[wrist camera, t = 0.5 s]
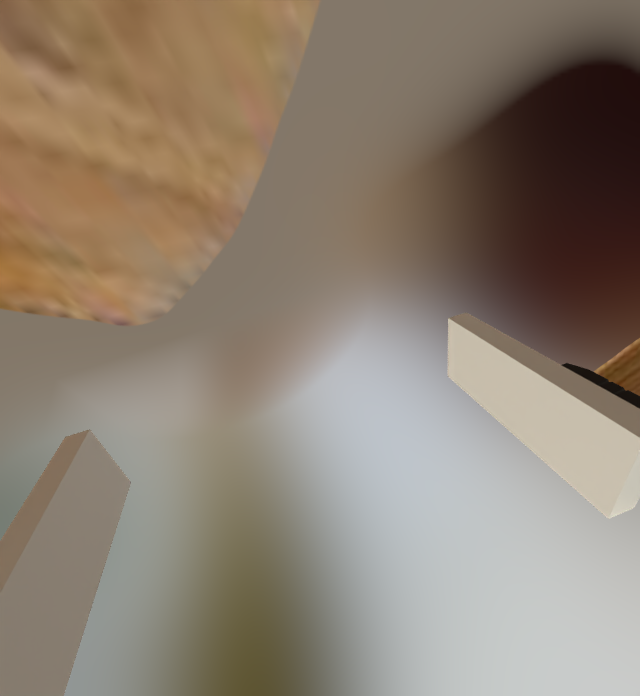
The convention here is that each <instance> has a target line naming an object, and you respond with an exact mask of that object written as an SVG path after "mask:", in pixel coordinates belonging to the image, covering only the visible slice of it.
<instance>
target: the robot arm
mask: <svg viewBox="0 0 640 696" xmlns="http://www.w3.org/2000/svg"><path fill="white" fill-rule="evenodd" d="M448 377H449V378H450V379H452V380H453V381H454V382H455V383H456V384H457V385H458V386H459V387H461V388H462V389H463V390H464V391H465V392H466V393H468V395H470V396H471V397H472V398H473V399H474V400H475V401H476V402H478V403H479V404H480V405H481V406H482V407H483V408H484V409H485V410H486V411H488V412H489V413H490V414H491V415H492V416H493V417H494V418H495V419H497V420H498V421H499V422H500V423H501V424H502V425H503V426H504V427H506V428H507V429H508V430H509V431H510V432H511V433H512V434H514V435H515V436H516V437H517V438H518V439H519V440H520V441H521V442H522V443H524V444H525V445H526V446H527V447H528V448H529V449H530V450H531V451H533V452H534V453H535V454H536V455H537V456H538V457H539V458H540V459H542V460H543V461H544V462H545V463H546V464H547V465H548V466H549V467H551V468H552V469H553V470H554V471H555V472H556V473H557V474H559V475H560V476H561V477H562V478H563V479H564V480H565V481H566V482H567V483H569V484H570V485H571V486H572V487H573V488H574V489H575V490H577V491H578V492H579V493H580V494H581V495H582V496H583V497H584V498H585V499H587V500H588V501H589V502H590V503H591V504H592V505H593V506H594V507H596V508H597V509H598V510H599V511H600V512H601V513H602V514H604V515H605V516H606V517H607V518H608V519H609V518H612V517H614V516H616V515H618V514H621V513H623V512H626V511H628V510H630V509H632V508H634V507H635V505H636V503H637V501H638V499H639V497H640V396H638V395H636V394H634V393H632V392H631V391H629V390H628V391H625V390H624V388H623V387H621V386H619V385H617V384H615V383H613V382H609V381H608V379H606V378H604V377H602V376H600V375H598V374H596V373H594V372H592V371H590V370H588V369H585V368H581V367H578V366H575V365H572V364H568V363H566V364H563V365H559V364H558V363H556V362H554V361H553V360H551V359H549V358H547V357H545V356H543V355H542V354H540V353H538V352H536V351H535V350H533V349H531V348H529V347H527V346H526V345H524V344H522V343H520V342H518V341H517V340H515V339H513V338H511V337H509V336H508V335H506V334H504V333H502V332H500V331H499V330H497V329H495V328H493V327H491V326H490V325H488V324H486V323H484V322H482V321H481V320H479V319H477V318H475V317H473V316H472V315H470V314H468V313H463V314H460V315H457V316H454V317H451V318H448ZM130 484H131V482H130V481H129V479H128V478H127V477H126V476H125V474H124V473H123V472H122V470H121V469H120V468H119V466H118V465H117V464H116V463H115V461H114V460H113V459H112V457H111V456H110V455H109V454H108V452H107V451H106V450H105V449H104V447H103V446H102V445H101V443H100V442H99V441H98V440H97V438H96V437H95V436H94V435H93V433H92V432H91V430H86V431H83V432H80V433H77V434H74V435H71V436H67V437H65V439H64V440H63V442H62V443H61V445H60V446H59V448H58V450H57V451H56V453H55V455H54V456H53V458H52V459H51V461H50V463H49V464H48V466H47V467H46V469H45V470H44V472H43V474H42V475H41V477H40V479H39V480H38V482H37V483H36V485H35V486H34V488H33V490H32V491H31V493H30V495H29V496H28V498H27V499H26V501H25V502H24V504H23V506H22V507H21V509H20V510H19V512H18V514H17V515H16V517H15V518H14V520H13V522H12V523H11V525H10V526H9V528H8V529H7V531H6V533H5V534H4V536H3V537H2V539H1V541H0V696H64V693H65V689H66V686H67V683H68V680H69V677H70V674H71V670H72V667H73V664H74V661H75V658H76V655H77V651H78V648H79V645H80V642H81V639H82V636H83V632H84V629H85V626H86V623H87V620H88V616H89V613H90V610H91V607H92V604H93V601H94V598H95V594H96V591H97V588H98V585H99V582H100V578H101V575H102V572H103V569H104V566H105V563H106V560H107V556H108V553H109V550H110V547H111V544H112V541H113V537H114V534H115V531H116V528H117V525H118V522H119V518H120V515H121V512H122V509H123V506H124V502H125V499H126V496H127V493H128V490H129V487H130Z"/></svg>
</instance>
